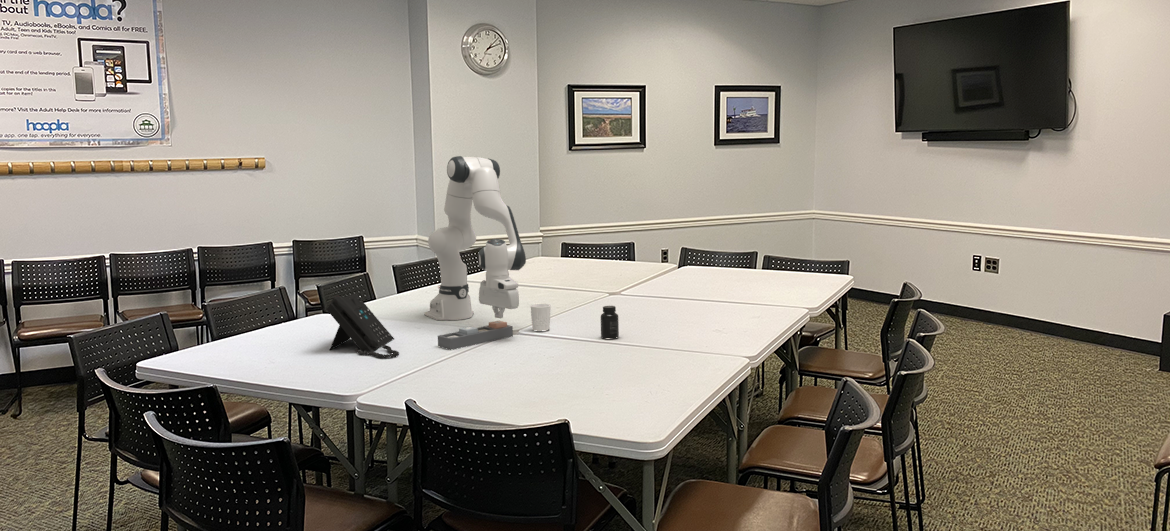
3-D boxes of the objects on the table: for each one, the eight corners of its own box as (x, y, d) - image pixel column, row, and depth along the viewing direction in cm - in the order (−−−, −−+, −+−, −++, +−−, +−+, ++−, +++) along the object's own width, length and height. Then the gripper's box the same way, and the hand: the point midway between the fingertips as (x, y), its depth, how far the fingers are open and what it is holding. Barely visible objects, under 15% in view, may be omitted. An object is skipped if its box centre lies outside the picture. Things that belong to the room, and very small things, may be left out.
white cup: (550, 332, 329) (549, 307, 327) (530, 332, 329) (529, 307, 328) (551, 327, 337) (551, 303, 335) (531, 328, 337) (531, 303, 335)
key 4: (488, 328, 322) (488, 322, 322) (498, 326, 326) (498, 320, 326) (496, 330, 319) (496, 324, 319) (507, 328, 322) (507, 321, 322)
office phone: (393, 360, 291) (391, 302, 288) (316, 357, 295) (313, 301, 292) (422, 340, 319) (420, 288, 316) (351, 338, 323) (349, 286, 320)
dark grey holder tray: (438, 346, 308) (437, 335, 308) (499, 333, 328) (499, 323, 328) (450, 349, 303) (450, 339, 302) (512, 336, 323) (512, 326, 322)
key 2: (459, 335, 313) (458, 328, 312) (469, 332, 316) (469, 325, 316) (467, 337, 309) (466, 330, 309) (478, 334, 313) (477, 327, 312)
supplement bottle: (619, 335, 322) (619, 304, 320) (618, 339, 315) (618, 308, 313) (601, 335, 322) (601, 304, 321) (600, 339, 316) (599, 308, 314)
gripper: (474, 280, 325) (475, 315, 327) (508, 285, 311) (509, 322, 313) (486, 278, 329) (488, 313, 331) (521, 283, 315) (522, 319, 317)
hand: (498, 317), depth 322 cm, fingers closed
